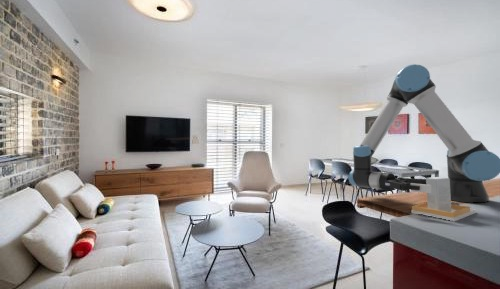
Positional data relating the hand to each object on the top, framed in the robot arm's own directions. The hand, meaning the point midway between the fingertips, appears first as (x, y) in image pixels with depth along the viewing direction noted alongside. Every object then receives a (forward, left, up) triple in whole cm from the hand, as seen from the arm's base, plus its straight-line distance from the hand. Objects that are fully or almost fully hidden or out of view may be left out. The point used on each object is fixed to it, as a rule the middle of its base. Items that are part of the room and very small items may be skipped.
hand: (440, 187), depth 89 cm
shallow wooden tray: (-2, 0, -10) cm, 10 cm away
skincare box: (0, 0, -9) cm, 9 cm away
